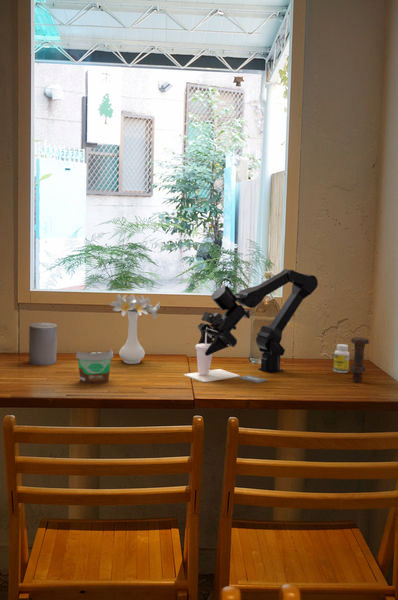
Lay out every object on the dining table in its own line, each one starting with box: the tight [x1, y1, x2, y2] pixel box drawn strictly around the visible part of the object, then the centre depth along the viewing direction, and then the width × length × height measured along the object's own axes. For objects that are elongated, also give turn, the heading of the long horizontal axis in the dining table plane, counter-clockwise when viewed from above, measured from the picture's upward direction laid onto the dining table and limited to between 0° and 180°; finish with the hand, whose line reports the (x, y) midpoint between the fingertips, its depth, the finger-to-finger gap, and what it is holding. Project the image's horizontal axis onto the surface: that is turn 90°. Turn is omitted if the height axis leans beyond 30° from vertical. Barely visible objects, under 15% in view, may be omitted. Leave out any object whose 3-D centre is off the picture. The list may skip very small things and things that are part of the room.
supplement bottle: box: [332, 343, 350, 374], centre depth 240 cm, size 5×5×10 cm
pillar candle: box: [28, 322, 58, 366], centre depth 236 cm, size 10×10×15 cm
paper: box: [183, 368, 241, 383], centre depth 226 cm, size 16×11×1 cm
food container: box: [75, 348, 114, 385], centre depth 211 cm, size 12×6×10 cm, turn 117°
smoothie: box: [195, 333, 213, 375], centre depth 224 cm, size 6×6×14 cm
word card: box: [238, 374, 268, 384], centre depth 223 cm, size 5×8×1 cm, turn 48°
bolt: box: [350, 337, 370, 383], centre depth 225 cm, size 6×5×15 cm
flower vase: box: [109, 293, 161, 365], centre depth 241 cm, size 13×18×25 cm
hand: (201, 352), depth 223 cm, fingers closed on smoothie, 6 cm apart
